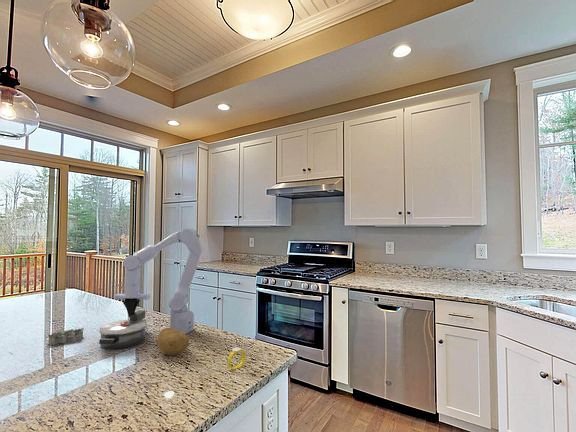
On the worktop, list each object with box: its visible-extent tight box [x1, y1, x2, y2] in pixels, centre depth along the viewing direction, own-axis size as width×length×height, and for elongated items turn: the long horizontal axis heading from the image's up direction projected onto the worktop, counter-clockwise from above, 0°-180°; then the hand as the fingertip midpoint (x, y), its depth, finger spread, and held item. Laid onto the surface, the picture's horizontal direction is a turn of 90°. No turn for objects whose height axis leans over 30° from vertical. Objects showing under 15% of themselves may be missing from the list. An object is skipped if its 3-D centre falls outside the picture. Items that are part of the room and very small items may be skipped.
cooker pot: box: [98, 319, 147, 351], centre depth 115 cm, size 24×15×5 cm, turn 178°
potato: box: [156, 327, 190, 356], centre depth 104 cm, size 10×14×8 cm
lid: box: [99, 309, 148, 336], centre depth 117 cm, size 22×16×3 cm
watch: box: [227, 346, 246, 371], centre depth 93 cm, size 6×3×6 cm, turn 136°
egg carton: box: [47, 327, 85, 346], centre depth 115 cm, size 11×8×4 cm
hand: (131, 316), depth 124 cm, fingers closed
